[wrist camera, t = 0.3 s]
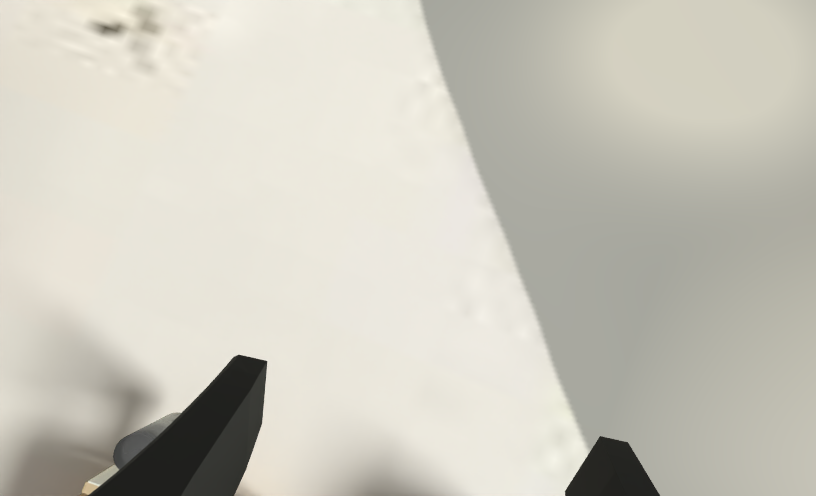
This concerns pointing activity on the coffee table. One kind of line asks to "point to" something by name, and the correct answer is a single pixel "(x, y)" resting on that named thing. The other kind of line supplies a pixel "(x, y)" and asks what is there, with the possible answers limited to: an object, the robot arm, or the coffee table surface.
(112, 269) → the coffee table surface
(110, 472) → the wooden box lid
